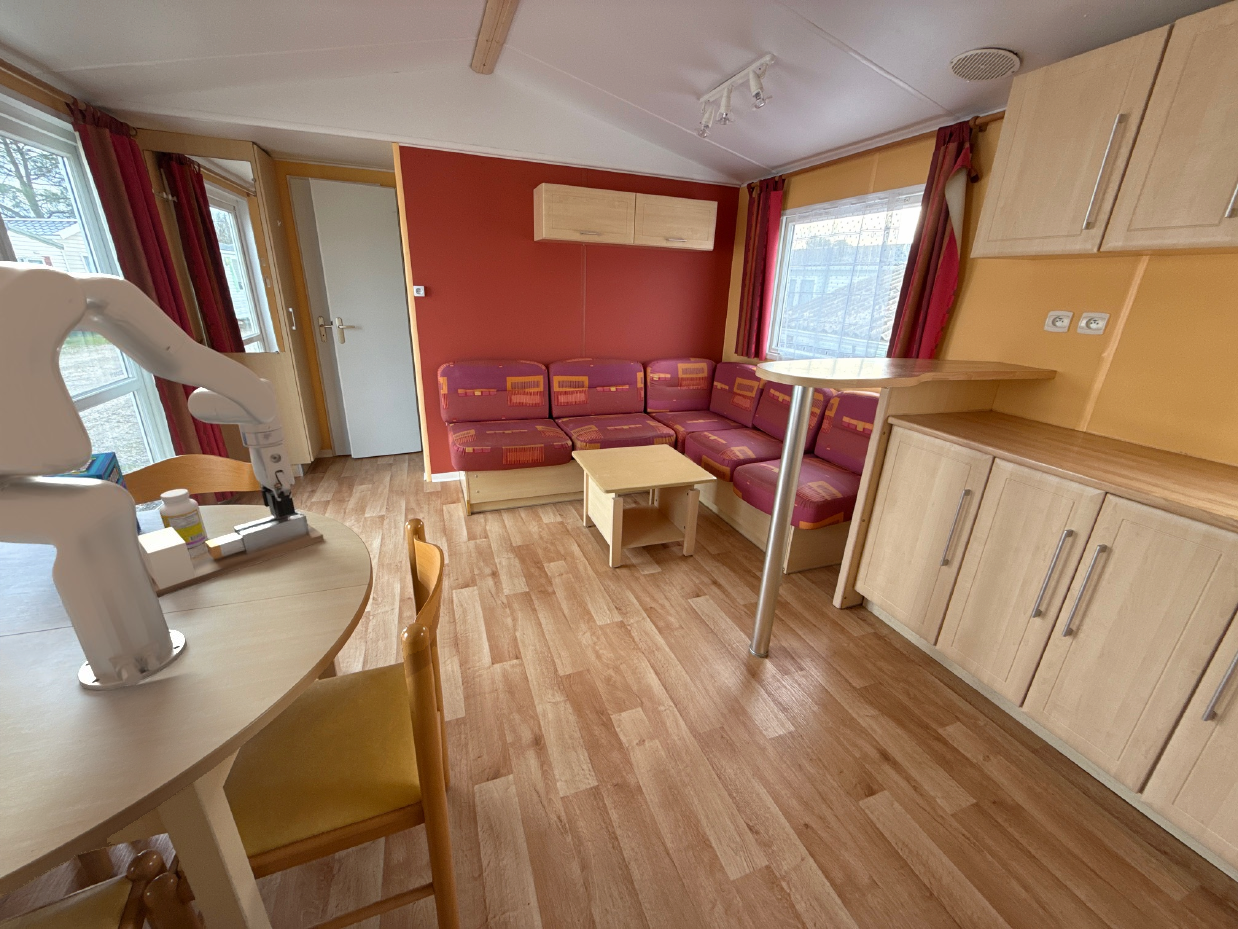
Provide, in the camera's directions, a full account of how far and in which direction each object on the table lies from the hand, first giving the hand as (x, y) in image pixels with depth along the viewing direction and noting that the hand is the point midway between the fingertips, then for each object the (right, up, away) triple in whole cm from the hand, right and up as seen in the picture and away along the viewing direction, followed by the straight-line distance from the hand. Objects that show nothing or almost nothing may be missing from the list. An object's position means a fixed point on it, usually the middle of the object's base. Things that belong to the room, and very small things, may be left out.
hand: (279, 509), depth 113 cm
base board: (-6, -10, -4) cm, 13 cm away
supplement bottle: (-22, -8, +1) cm, 23 cm away
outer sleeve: (-1, -7, +1) cm, 7 cm away
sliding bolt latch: (-4, -7, -2) cm, 8 cm away
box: (-37, -9, -2) cm, 38 cm away
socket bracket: (-13, -12, -13) cm, 22 cm away
